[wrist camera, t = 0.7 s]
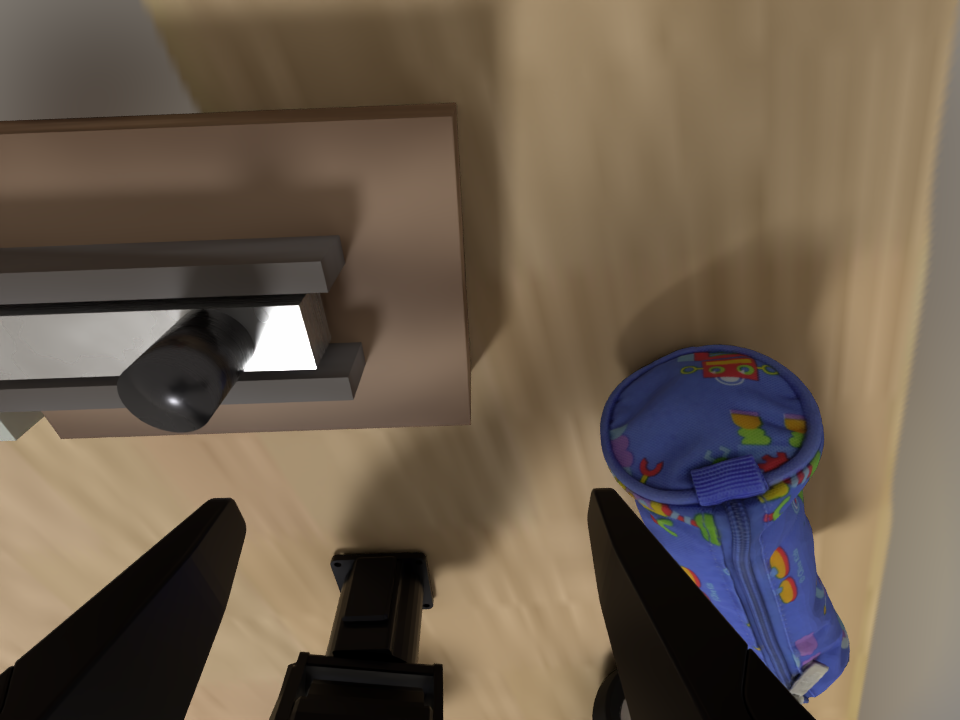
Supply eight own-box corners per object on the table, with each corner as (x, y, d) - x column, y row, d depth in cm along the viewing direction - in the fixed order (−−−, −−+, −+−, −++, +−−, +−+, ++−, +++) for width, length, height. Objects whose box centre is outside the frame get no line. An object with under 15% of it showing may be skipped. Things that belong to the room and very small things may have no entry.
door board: (470, 371, 24) (470, 464, 18) (118, 384, 24) (18, 478, 19) (456, 102, 17) (448, 127, 12) (-34, 122, 17) (-257, 155, 12)
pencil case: (793, 554, 33) (894, 714, 25) (673, 585, 35) (731, 743, 27) (744, 306, 22) (897, 453, 14) (572, 373, 24) (621, 535, 16)
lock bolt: (316, 278, 16) (262, 359, 12) (331, 338, 17) (287, 429, 13) (-28, 291, 16) (-200, 375, 12) (13, 349, 18) (-129, 443, 13)
